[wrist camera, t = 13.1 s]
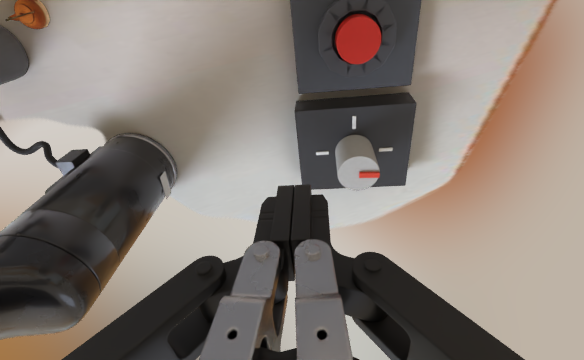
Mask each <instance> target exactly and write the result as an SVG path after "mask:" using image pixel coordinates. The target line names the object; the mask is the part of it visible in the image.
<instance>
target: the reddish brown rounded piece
mask: <svg viewBox="0 0 584 360" xmlns="http://www.w3.org/2000/svg"><path fill="white" fill-rule="evenodd" d="M14 11H15V14H13V15H11V16H9V17H8V19H6V21H9V20H15V21H21V22H22V23H23V24H24V25H26V26H28V27H30V28H33V29H42V28H44V27H47V26H48V23H49V21H50V17H49V14H48V12H47V10H46V8H45V6H44V5H43V4H42V3H41V2H40V1H39V0H17V1H16V3H15V6H14Z"/></svg>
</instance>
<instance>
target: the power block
mask: <svg viewBox="0 0 584 360" xmlns="http://www.w3.org/2000/svg"><path fill="white" fill-rule="evenodd" d="M290 4H291V15H292V26H293V37H294V48H295V59H296V70H297V82H298V93H299V94H303V93H315V92H328V91H341V90H353V89H366V88H379V87H391V86H404V85H411V80H412V72H413V64H414V56H415V48H416V40H417V31H418V23H419V15H420V7H421V0H290ZM354 14H364V15H367V16H369V17H370V18H371V19H372V20H374V21H375V22H376V23H377V25H378V26H379V28H380V31H381V44H380V47H379V49H378V51H377V53H376V54H375V55H374V57H373V58H371V59H370V60H369V61H367V62H365V63H362V64H351V63H348V62H346V61H345V60H343V59H342V58H341V56H340V55H339V53H338V50H337V47H336V43H335V36H336V32H337V29H338V27H339V25H340V24H341V23H342V22H343V20H345V19H346V18H347V17H349V16H351V15H354Z"/></svg>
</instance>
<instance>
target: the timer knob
mask: <svg viewBox="0 0 584 360" xmlns="http://www.w3.org/2000/svg"><path fill="white" fill-rule="evenodd" d="M335 156H336V165H337V174H338V179H339V181H340V183H341V184H342V185H343V186H344V187H346V188H348V189H350V190H364V189H367V188H369V187H371V186H372V185H373V184H374V183H375V182H376V181H377V179H378V178H379V177H380V170H379V166H378V163H377V160H376V157H375V154H374V151H373V148H372V145H371V143H370V141H369V140H368V139H367V138H365V137H363V136H360V135H350V136H347V137H345V138H343V139H342V140H341V141H340V142H339V143H338V144H337V146H336V149H335Z"/></svg>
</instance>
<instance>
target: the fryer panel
mask: <svg viewBox="0 0 584 360" xmlns="http://www.w3.org/2000/svg"><path fill="white" fill-rule="evenodd" d="M415 110H416V102H415V100H414V99H413V98H412V96H411V95H410V94H409V93H399V94H386V95H372V96H359V97H346V98H333V99H320V100H307V101H296V107H295V120H296V129H297V139H298V149H299V159H300V169H301V179H302V185H309V184H311V189H334V188H346V187H344V186H343V185H342V184H341V183H340V181H339V179H338V174H337V165H336V156H335V149H336V146H337V144H338V143H339V142H340V141H341V140H342V139H343V138H345V137H347V136H350V135H360V136H363V137H365V138H367V139H368V140H369V141H370V143H371V145H372V148H373V151H374V154H375V157H376V160H377V163H378V166H379V170H380V177H379V178H378V179H377V181H376V182H375V183H374V184H373V185H372V186H371V187H380V186H403V185H405V183H406V176H407V169H408V161H409V154H410V147H411V139H412V132H413V125H414V118H415Z"/></svg>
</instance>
